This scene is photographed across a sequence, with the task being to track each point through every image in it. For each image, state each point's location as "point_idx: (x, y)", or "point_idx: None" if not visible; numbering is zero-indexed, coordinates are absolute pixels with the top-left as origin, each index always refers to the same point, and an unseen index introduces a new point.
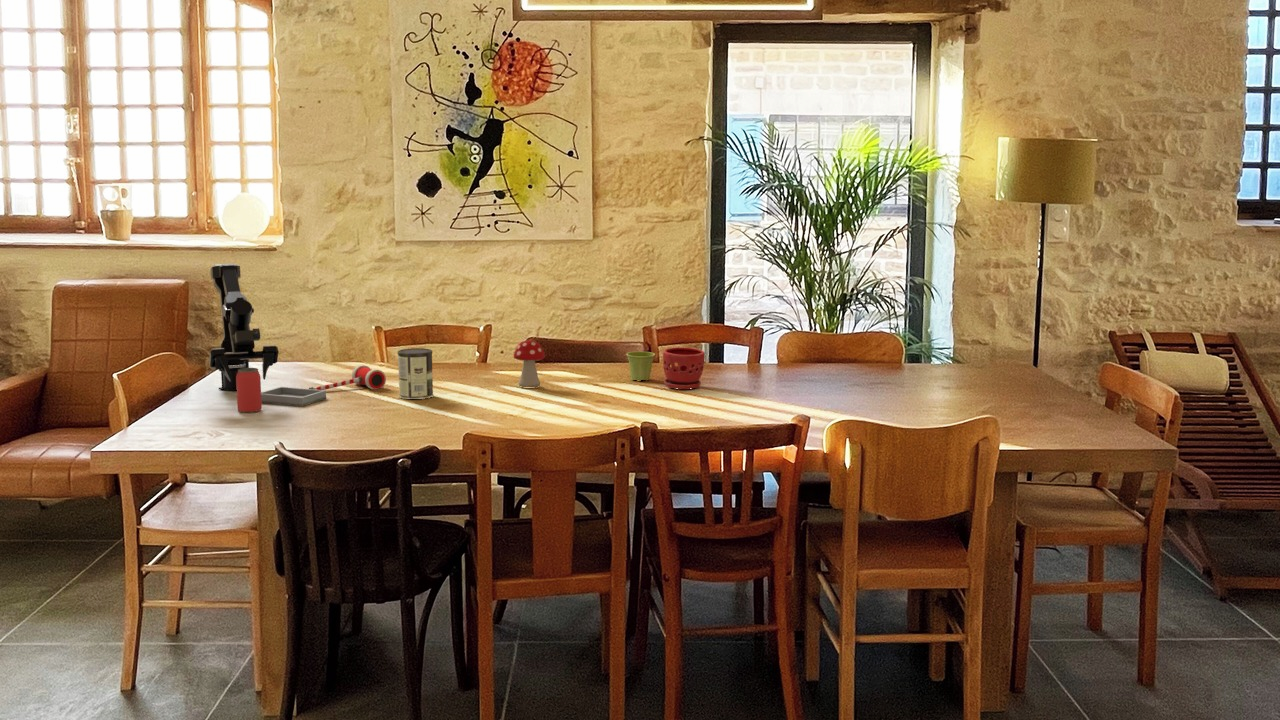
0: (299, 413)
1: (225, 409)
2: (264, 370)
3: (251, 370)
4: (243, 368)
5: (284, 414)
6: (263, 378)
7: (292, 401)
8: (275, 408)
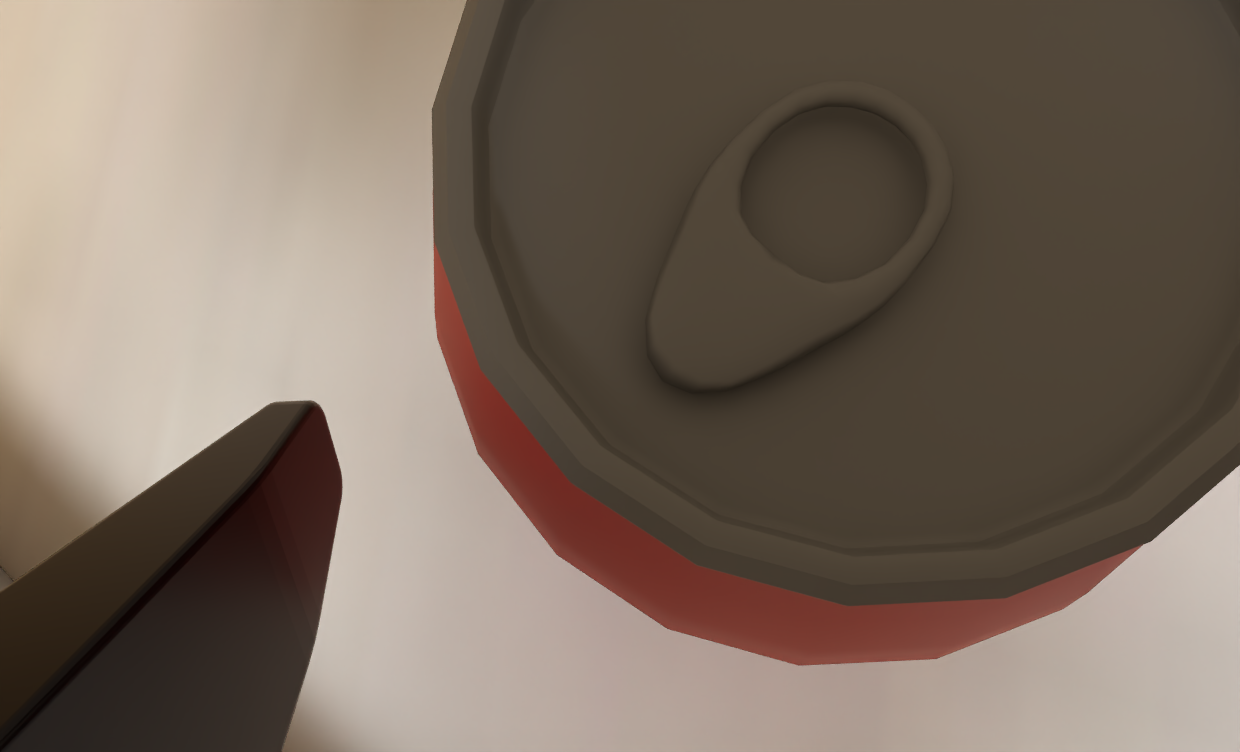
0: (104, 13)
1: (1138, 699)
2: (159, 539)
3: (721, 132)
4: (1076, 524)
5: (305, 12)
6: (332, 508)
7: None
8: (345, 483)
